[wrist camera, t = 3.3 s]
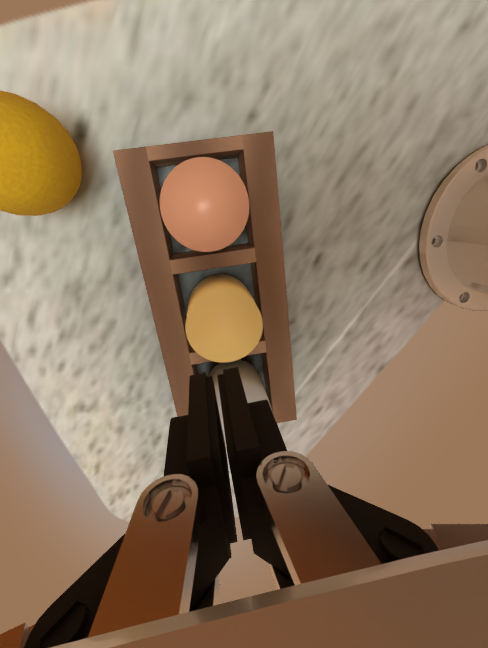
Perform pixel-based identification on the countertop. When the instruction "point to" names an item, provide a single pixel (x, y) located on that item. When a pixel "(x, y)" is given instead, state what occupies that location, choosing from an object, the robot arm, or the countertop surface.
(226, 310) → the yellow short cylinder
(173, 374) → the wooden compartment tray
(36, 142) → the lemon
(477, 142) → the countertop surface
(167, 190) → the pink cylinder
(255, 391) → the grey short rounded cylinder
